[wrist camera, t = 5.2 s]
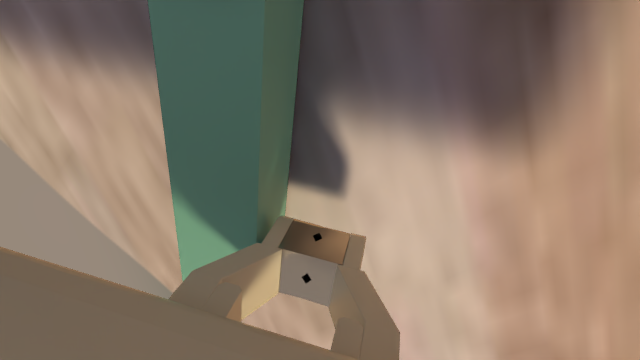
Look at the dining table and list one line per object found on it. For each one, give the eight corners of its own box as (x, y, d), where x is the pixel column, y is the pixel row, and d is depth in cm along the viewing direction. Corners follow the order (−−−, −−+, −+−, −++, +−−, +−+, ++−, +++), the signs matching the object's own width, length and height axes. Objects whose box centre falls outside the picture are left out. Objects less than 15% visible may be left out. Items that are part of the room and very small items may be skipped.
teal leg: (199, -175, 8) (84, -275, 5) (327, -166, 7) (276, -273, 4) (217, 239, 14) (171, 294, 11) (285, 258, 14) (254, 320, 11)
